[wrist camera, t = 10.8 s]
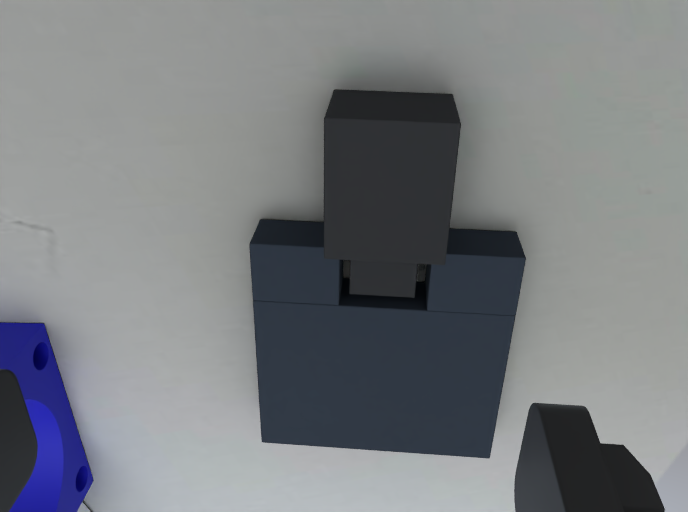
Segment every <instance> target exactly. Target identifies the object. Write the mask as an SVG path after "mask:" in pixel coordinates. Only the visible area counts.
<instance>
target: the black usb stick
mask: <svg viewBox="0 0 688 512" xmlns="http://www.w3.org/2000/svg"><path fill="white" fill-rule="evenodd" d="M460 128H461V123H460V119H459V116H458V112H457V108H456V104H455V101H454V97H453V95H452V94H434V93H409V92H383V91H357V90H334V92H333V95H332V98H331V100H330V103H329V106H328V109H327V112H326V115H325V118H324V259H337V260H350V285H349V293H350V294H359V295H376V296H394V297H411V298H414V297H415V290H416V278H417V267H418V264H429V265H445V262H446V253H447V244H448V235H449V226H450V217H451V208H452V200H453V191H454V182H455V173H456V164H457V155H458V146H459V137H460Z"/></svg>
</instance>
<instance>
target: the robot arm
mask: <svg viewBox="0 0 688 512" xmlns="http://www.w3.org/2000/svg"><path fill="white" fill-rule="evenodd" d="M37 451H38V444H37V438H36V434H35V431H34V428H33V425H32V422H31V419H30V416H29V413H28V410H27V407H26V403H25V400H24V397H23V394H22V391H21V388H20V385H19V382H18V379H17V377H16V375H15V374H14V373H13V372H12V371H10V370H7V369H0V512H9V511H10V509H11V508H12V506H13V504H14V503H15V501H16V500H17V498H18V496H19V495H20V493H21V492H22V490H23V488H24V487H25V485H26V484H27V482H28V480H29V479H30V477H31V475H32V472H33V470H34V467H35V463H36V459H37ZM514 492H515V510H516V512H664V510H665V509H664V506H663V504H662V501H661V499H660V497H659V494H658V492H657V489H656V487H655V485H654V482H653V480H652V477H651V475H650V474H649V473H648V472H647V471H646V469H645V468H644V467H643V466H642V465H641V464H640V463H639V462H638V461H637V459H636V458H635V457H634V456H633V455H632V454H631V453H630V452H629V451H628V450H627V448H626V447H625V446H624V445H616V444H601V443H600V441H599V439H598V436H597V433H596V430H595V427H594V425H593V422H592V419H591V416H590V414H589V412H588V410H587V408H586V407H584V406H575V405H559V404H543V403H533V404H532V405H531V406H530V409H529V412H528V417H527V422H526V426H525V431H524V436H523V441H522V445H521V450H520V455H519V460H518V464H517V469H516V475H515V489H514Z"/></svg>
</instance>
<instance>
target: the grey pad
mask: <svg viewBox="0 0 688 512" xmlns="http://www.w3.org/2000/svg"><path fill="white" fill-rule="evenodd" d="M250 260H251V276H252V292H253V308H254V324H255V340H256V357H257V373H258V389H259V405H260V421H261V437H262V442H265V443H279V444H294V445H308V446H322V447H336V448H350V449H365V450H379V451H393V452H407V453H421V454H435V455H450V456H464V457H478V458H490V453H491V448H492V442H493V437H494V431H495V426H496V420H497V415H498V409H499V404H500V398H501V393H502V387H503V382H504V376H505V370H506V365H507V359H508V354H509V348H510V343H511V337H512V332H513V326H514V321H515V315H516V310H517V305H518V299H519V294H520V288H521V282H522V277H523V271H524V266H525V260H526V257H525V255H524V252H523V249H522V246H521V243H520V240H519V238H518V235H517V232H506V231H486V230H466V229H449V235H448V244H447V253H446V262H445V265H429V264H427V265H426V276H425V283H421V282H416V290H415V297H414V298H411V297H394V296H376V295H359V294H350V293H349V285H350V279H349V278H343V260H337V259H324V222H304V221H284V220H264V219H261V220H260V221H259V224H258V226H257V228H256V230H255V233H254V235H253V237H252V240H251V242H250Z"/></svg>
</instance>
